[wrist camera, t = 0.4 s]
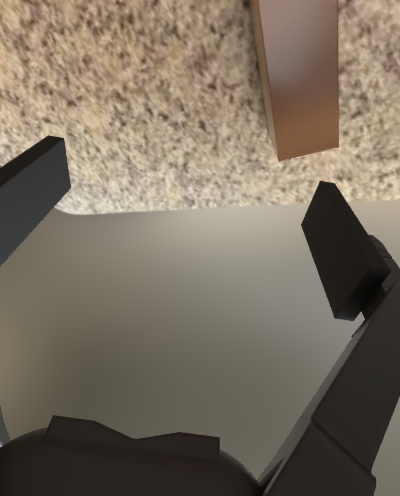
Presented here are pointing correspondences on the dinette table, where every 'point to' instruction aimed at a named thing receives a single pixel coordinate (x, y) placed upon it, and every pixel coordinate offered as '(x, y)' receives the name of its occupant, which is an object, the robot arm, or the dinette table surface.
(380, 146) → the dinette table surface
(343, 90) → the dinette table surface
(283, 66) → the eraser
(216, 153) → the dinette table surface
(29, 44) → the dinette table surface
